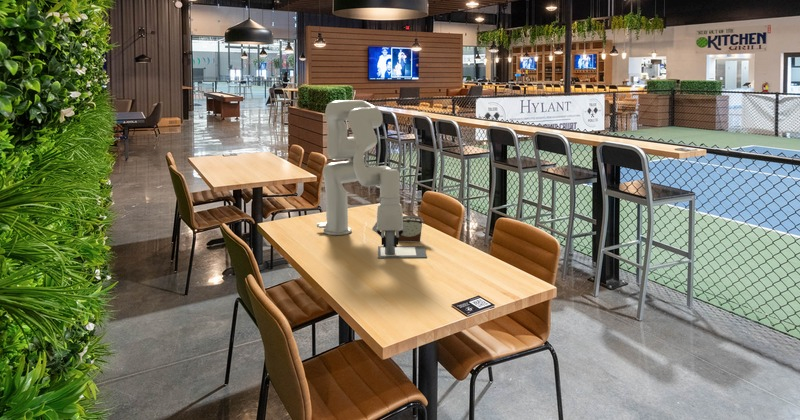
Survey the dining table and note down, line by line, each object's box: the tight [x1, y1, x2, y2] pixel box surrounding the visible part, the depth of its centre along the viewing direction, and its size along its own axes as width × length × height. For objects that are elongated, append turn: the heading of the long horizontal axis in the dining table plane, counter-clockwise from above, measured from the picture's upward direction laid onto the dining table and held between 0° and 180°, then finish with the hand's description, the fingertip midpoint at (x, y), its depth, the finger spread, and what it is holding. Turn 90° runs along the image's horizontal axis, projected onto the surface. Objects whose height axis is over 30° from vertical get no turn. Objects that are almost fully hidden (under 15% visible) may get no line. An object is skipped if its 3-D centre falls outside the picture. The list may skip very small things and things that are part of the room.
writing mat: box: [377, 245, 428, 259], centre depth 232 cm, size 19×15×1 cm
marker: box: [384, 231, 396, 255], centre depth 228 cm, size 4×4×13 cm
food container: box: [398, 215, 424, 243], centre depth 249 cm, size 12×6×10 cm, turn 84°
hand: (390, 246), depth 229 cm, fingers closed on marker, 3 cm apart
